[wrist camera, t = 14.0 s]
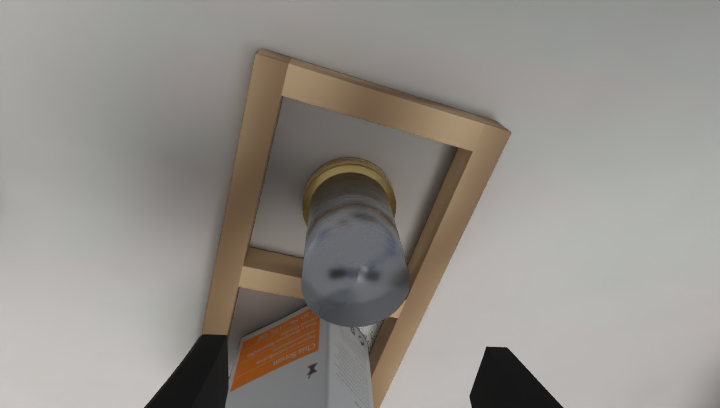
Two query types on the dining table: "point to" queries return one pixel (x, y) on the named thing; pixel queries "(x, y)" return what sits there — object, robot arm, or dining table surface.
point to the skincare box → (301, 366)
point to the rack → (378, 105)
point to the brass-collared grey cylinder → (352, 245)
